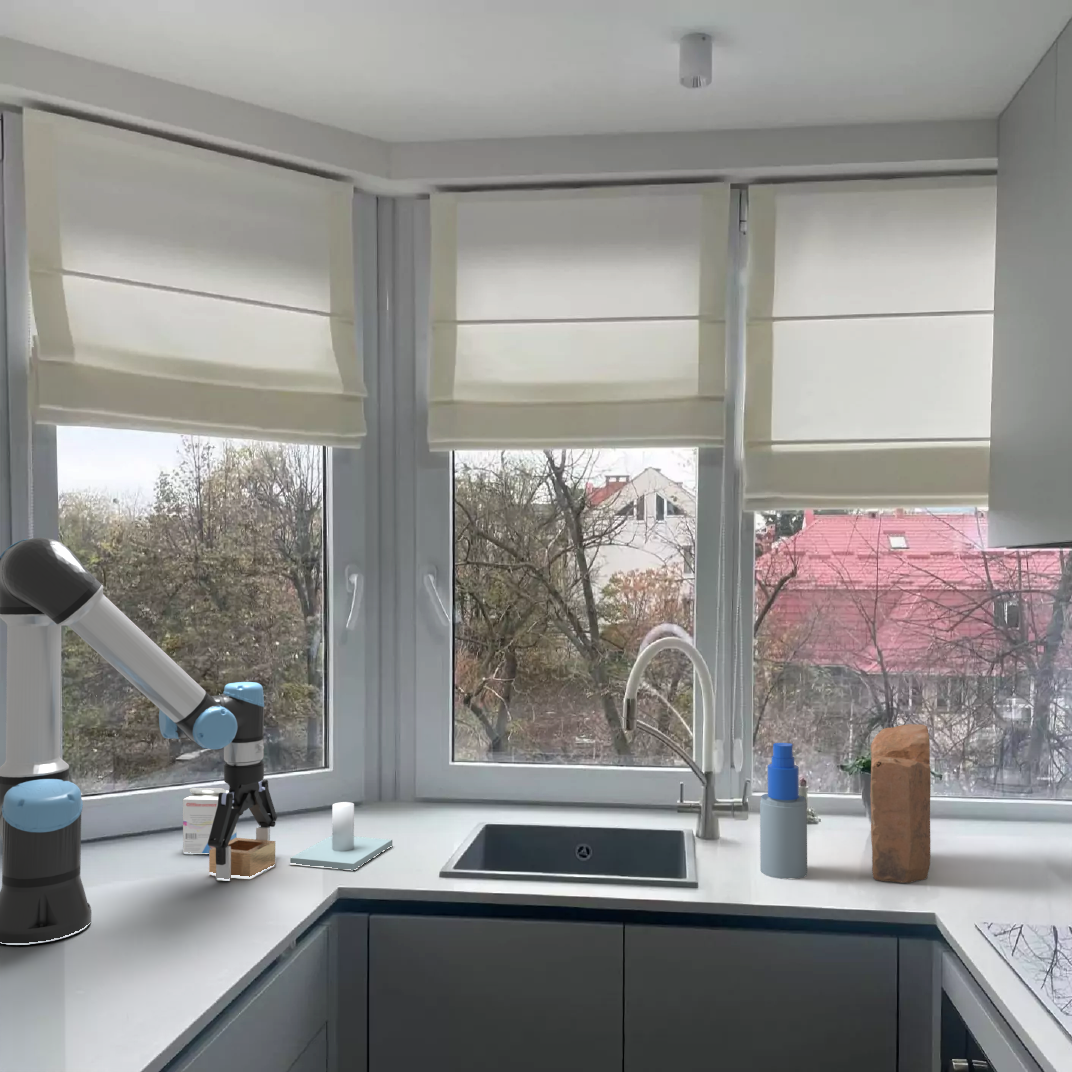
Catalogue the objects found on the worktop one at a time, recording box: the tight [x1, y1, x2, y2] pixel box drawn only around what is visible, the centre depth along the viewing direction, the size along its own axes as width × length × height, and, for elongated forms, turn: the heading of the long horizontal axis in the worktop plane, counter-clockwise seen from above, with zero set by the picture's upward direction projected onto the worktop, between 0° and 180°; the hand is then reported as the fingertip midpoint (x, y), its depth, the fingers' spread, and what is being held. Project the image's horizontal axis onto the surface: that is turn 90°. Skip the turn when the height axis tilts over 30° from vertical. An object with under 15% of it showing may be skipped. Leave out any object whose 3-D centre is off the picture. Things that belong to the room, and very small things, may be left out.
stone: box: [869, 723, 932, 884], centre depth 197 cm, size 22×11×28 cm, turn 162°
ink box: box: [182, 787, 237, 853], centre depth 210 cm, size 9×8×13 cm
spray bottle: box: [759, 742, 808, 879], centre depth 195 cm, size 9×9×25 cm
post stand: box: [289, 801, 393, 870], centre depth 206 cm, size 18×14×10 cm
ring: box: [208, 837, 276, 877], centre depth 195 cm, size 9×9×5 cm
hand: (243, 870), depth 195 cm, fingers open, 13 cm apart
